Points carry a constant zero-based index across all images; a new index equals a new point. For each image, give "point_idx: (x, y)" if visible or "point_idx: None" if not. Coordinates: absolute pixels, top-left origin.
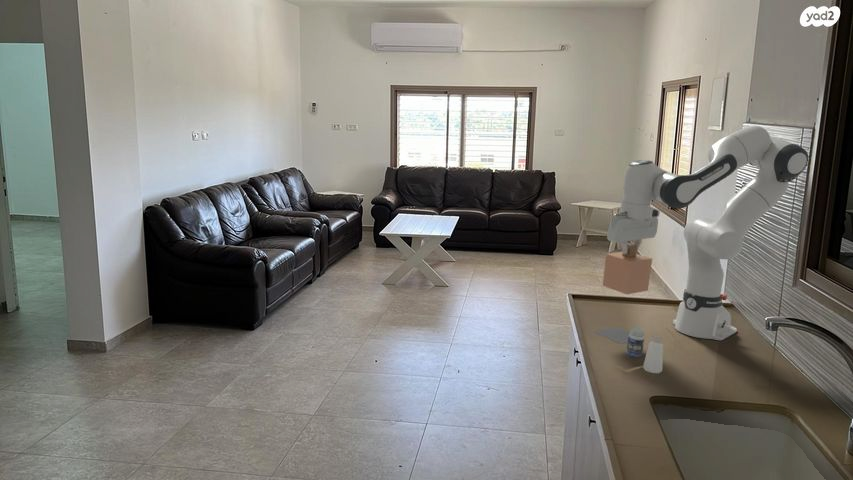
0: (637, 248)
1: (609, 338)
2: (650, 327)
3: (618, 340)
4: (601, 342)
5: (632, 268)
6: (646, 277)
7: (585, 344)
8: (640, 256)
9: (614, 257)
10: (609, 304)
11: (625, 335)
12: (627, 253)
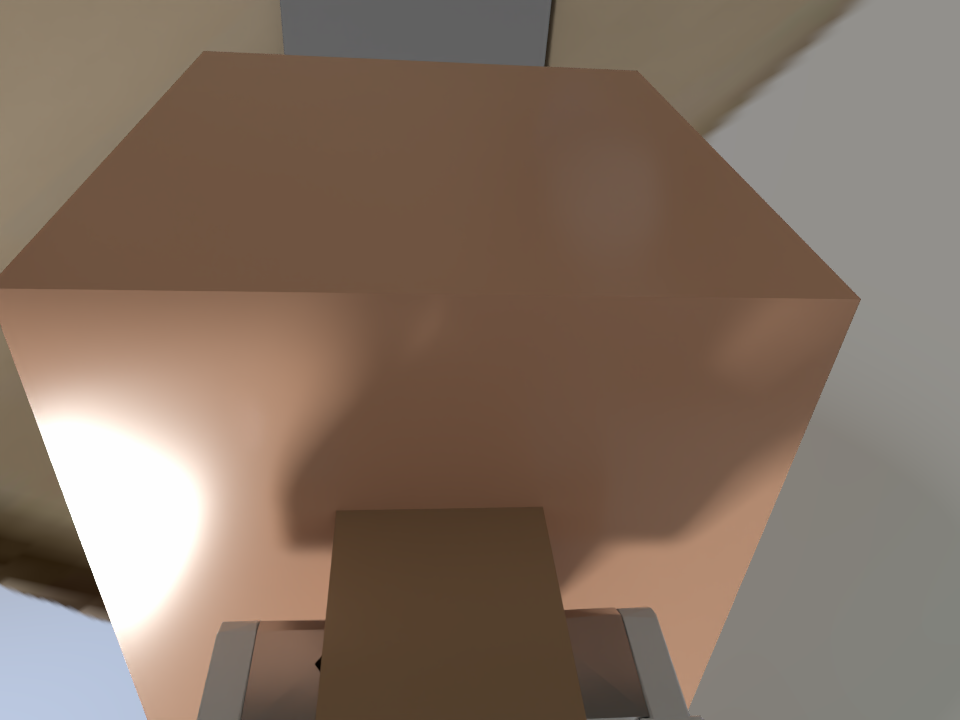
0: (235, 713)
1: None
2: (16, 89)
3: (511, 12)
4: (622, 68)
5: (723, 216)
6: (241, 116)
7: (743, 98)
8: (182, 506)
9: (718, 612)
10: (25, 479)
11: (375, 56)
12: (591, 612)
